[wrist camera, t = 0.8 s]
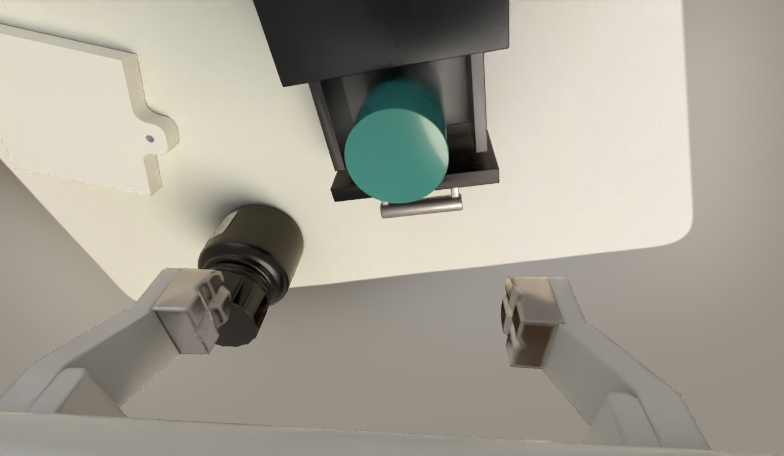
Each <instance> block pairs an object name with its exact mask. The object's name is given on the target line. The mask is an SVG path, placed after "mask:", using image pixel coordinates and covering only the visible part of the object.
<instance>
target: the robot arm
mask: <svg viewBox="0 0 784 456" xmlns="http://www.w3.org/2000/svg"><path fill="white" fill-rule="evenodd" d="M223 281H224V278H223V275H222V273H221V271H218V270H209V269H188V268H184V269H180V268H166V269H164V270H162V271H161V272H160V274H159V275H158V276H157V277H156V279H155V280H154V281H153V282H152V284H151V285H150V286H149V287H148V289H147V290H146V291H145V292H144V294H143V295H142V296H141V297H140V299H139V300H138V301H137V302H136V304H135V305H134V306H133V307H132V309H131V310H124V311H122V312H120V313H119V314H117V315H115V316H114V317H112V318H110V319H109V320H106V321H105V322H103V323H101V324H100V325H98V326H96V327H94V328H93V329H91V330H89V331H87V332H85V333H84V334H82V335H80V336H78V337H77V338H75V339H73V340H71V341H70V342H68V343H66V344H64V345H63V346H61V347H59V348H57V349H56V350H54V351H52V352H50V353H49V354H47V355H45V356H43V357H42V358H40V359H38V360H36V361H35V362H33V363H31V364H30V365H29V366H28V367H27V368H26V369H25V370H24V371H23V372H22V373H21V375H20V376H19V377H18V378H17V379H16V380H15V381H14V382H13V383H12V384H11V385H10V386H9V387H8V388H7V390H6V391H5V392H4V393H3V394H2V395H1V396H0V456H784V454H777V453H759V452H740V451H722V450H711V448H710V446H709V444H708V443H707V441H706V439H705V437H704V435H703V434H702V432H701V430H700V428H699V426H698V425H697V423H696V421H695V419H694V417H693V416H692V414H691V412H690V410H689V408H688V407H687V405H686V403H685V401H684V399H683V398H682V396H681V394H679V393H678V392H677V391H676V390H675V389H673V388H672V387H671V386H670V385H668V384H667V383H666V382H664V381H663V380H662V379H661V378H659V377H658V376H657V375H655V374H654V373H653V372H652V371H651V370H649V369H648V368H646V367H645V366H644V365H643V364H642V363H640V362H639V361H638V360H636V359H635V358H634V357H633V356H631V355H630V354H629V353H627V352H626V351H625V350H624V349H623V348H621V347H620V346H619V345H618V344H616V343H615V342H614V341H613V340H611V339H610V338H609V337H607V336H606V335H605V334H604V333H602V332H601V331H600V330H598V329H597V328H596V327H595V326H593V325H587V323H586V321H585V319H584V316H583V314H582V312H581V309H580V307H579V305H578V302H577V300H576V297H575V295H574V293H573V290H572V288H571V286H570V283H569V281H568V279H566V278H565V277H546V278H544V277H508V278H507V280H506V285H505V289H506V294H507V295H506V296H505V297H504V298H503V300H502V306H501V319H502V327H503V332H504V333H505V334H506V335H507V336H508V338H507V343H506V348H507V353H508V358H509V363H510V367H520V368H535V369H543V371H544V373H545V374H546V375H547V376H548V377H549V379H551V381H552V382H553V383H554V384H555V385H556V387H557V388H558V389H559V390H560V392H561V393H562V394H563V395H564V396H565V398H566V399H567V400H568V401H569V402H570V403H571V404H572V406H573V407H574V408H575V409H576V410H577V412H578V413H579V414H580V415H581V416H582V418H583V419H584V420H585V421H586V422H587V424H588V425H589V426H590V428H589V430H588V432H587V434H586V435H585V437H584V439H583V441H582V443H579V442H559V441H543V440H525V439H507V438H488V437H471V436H453V435H452V436H451V435H433V434H417V433H398V432H380V431H362V430H344V429H326V428H308V427H289V426H271V425H253V424H235V423H216V422H199V421H181V420H164V419H145V418H128V417H127V416H126V415H125V414H124V413H123V412H122V410H121V409H120V407H121V406H122V405H123V404H125V403H126V402H127V401H128V400H129V399H130V398H131V397H133V396H134V395H135V394H136V393H137V392H138V391H140V390H141V389H142V388H143V387H144V386H146V385H147V384H148V383H149V382H150V381H151V380H153V379H154V378H155V377H156V376H157V375H158V374H159V373H161V372H162V371H163V370H164V369H165V368H167V367H168V366H169V365H170V364H171V363H172V362H173V361H175V360H176V359H177V358H178V357H179V356H180V354H210V352H211V350H212V348H213V347H214V345H215V343H216V341H217V339H218V337H219V335H220V334H219V331H218V328H219V327H220V326H222V325H223V324H224V323H226V322H227V320H228V318H229V316H230V313H231V307H232V299H231V295H230V292H229V290H227V289H226V288H225V287H224V286H222V283H223Z"/></svg>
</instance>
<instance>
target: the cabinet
mask: <svg viewBox="0 0 784 456" xmlns="http://www.w3.org/2000/svg"><path fill="white" fill-rule="evenodd" d="M253 2H254V5H255V7H256V10H257V13H258V16H259V19H260V22H261V25H262V28H263V31H264V34H265V37H266V39H267V42H268V45H269V48H270V51H271V54H272V57H273V60H274V63H275V66H276V68H277V71H278V74H279V77H280V80H281V83H282V86H283V87H287V86H293V85H299V84H305V83H310V82H316V81H322V80H328V79H334V78H339V77H345V76H351V75H357V74H363V73H368V72H374V71H380V70H386V69H391V68H397V67H403V66H409V65H415V64H420V63H426V62H432V61H438V60H443V59H449V58H455V57H461V56H467V55H472V54H478V53H484V52H490V51H496V50H501V49H507V48H509V0H253Z"/></svg>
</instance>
